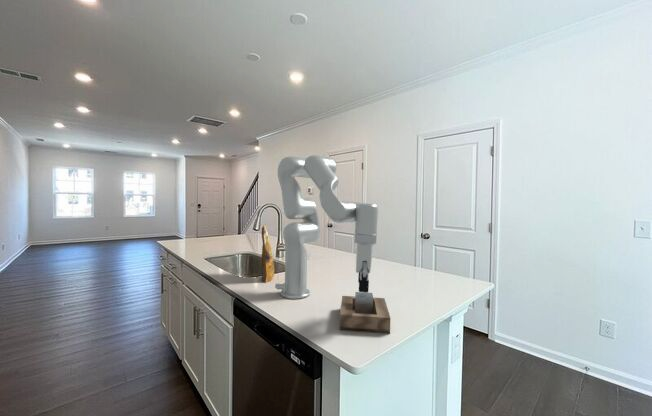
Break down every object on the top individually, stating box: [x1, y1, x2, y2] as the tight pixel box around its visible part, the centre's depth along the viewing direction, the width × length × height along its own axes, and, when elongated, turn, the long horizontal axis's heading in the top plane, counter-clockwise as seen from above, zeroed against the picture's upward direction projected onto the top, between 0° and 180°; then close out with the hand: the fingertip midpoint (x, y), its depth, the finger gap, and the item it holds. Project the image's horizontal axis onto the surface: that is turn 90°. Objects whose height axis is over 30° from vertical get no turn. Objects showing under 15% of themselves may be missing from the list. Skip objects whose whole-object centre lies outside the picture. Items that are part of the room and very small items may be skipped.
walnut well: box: [339, 295, 391, 335], centre depth 98 cm, size 16×18×5 cm
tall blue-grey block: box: [354, 291, 374, 314], centre depth 98 cm, size 6×4×8 cm
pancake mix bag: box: [260, 223, 275, 283], centre depth 147 cm, size 7×19×28 cm, turn 2°
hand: (363, 287), depth 99 cm, fingers open, 9 cm apart
